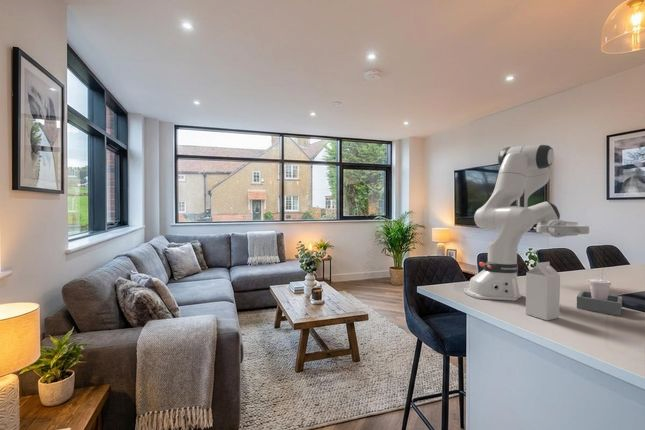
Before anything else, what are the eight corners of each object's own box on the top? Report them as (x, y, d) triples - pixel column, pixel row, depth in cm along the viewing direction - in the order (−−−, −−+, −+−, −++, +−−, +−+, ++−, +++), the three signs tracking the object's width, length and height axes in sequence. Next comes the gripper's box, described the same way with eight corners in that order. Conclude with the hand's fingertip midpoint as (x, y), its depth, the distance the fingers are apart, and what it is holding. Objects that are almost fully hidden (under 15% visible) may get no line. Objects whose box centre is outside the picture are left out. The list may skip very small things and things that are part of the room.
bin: (620, 316, 108) (620, 303, 108) (576, 308, 116) (576, 296, 116) (621, 308, 116) (622, 296, 116) (580, 301, 125) (580, 290, 124)
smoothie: (615, 309, 112) (616, 271, 112) (595, 308, 114) (596, 270, 113) (602, 304, 119) (603, 268, 118) (584, 303, 120) (584, 267, 120)
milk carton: (525, 314, 109) (526, 261, 109) (538, 311, 112) (538, 260, 112) (546, 321, 103) (547, 265, 102) (559, 318, 106) (560, 263, 105)
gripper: (532, 221, 156) (541, 223, 143) (580, 222, 149) (595, 223, 136) (531, 234, 156) (541, 236, 143) (580, 235, 150) (595, 237, 137)
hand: (568, 230), depth 140 cm, fingers open, 8 cm apart
